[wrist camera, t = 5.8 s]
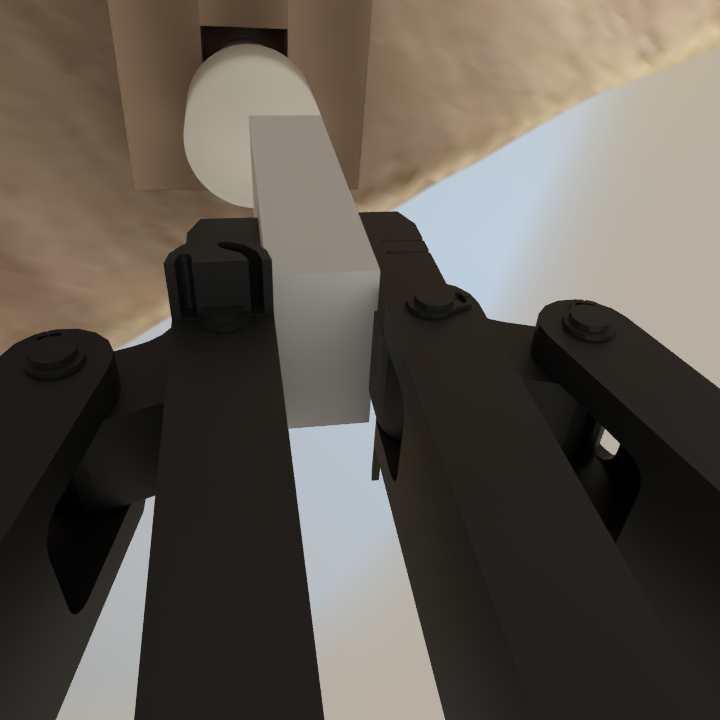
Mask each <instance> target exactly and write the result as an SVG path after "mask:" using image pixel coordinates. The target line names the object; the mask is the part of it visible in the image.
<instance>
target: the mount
mask: <svg viewBox="0 0 720 720" xmlns="http://www.w3.org/2000/svg"><path fill="white" fill-rule="evenodd" d="M107 2H108V9H109V16H110V23H111V30H112V37H113V44H114V51H115V58H116V65H117V72H118V79H119V86H120V93H121V100H122V107H123V114H124V121H125V128H126V135H127V142H128V149H129V156H130V163H131V170H132V177H133V184H134V190H208V189H207V188H206V187H205V186H204V185H203V184H202V183H201V182H200V180H199V179H198V178H197V177H196V175H195V173H194V172H193V170H192V168H191V166H190V164H189V162H188V159H187V156H186V152H185V147H184V134H183V132H184V122H185V112H186V102H187V94H188V90H189V86H190V83H191V81H192V78H193V76H194V75H195V73H196V71H197V70H198V68H199V67H200V66H201V65H202V63H203V62H205V61H206V53H205V38H204V26H224V27H248V28H272V29H277V51H278V52H279V53H281V54H283V55H284V56H286V57H287V58H288V59H290V60H291V61H292V62H293V63H294V64H295V65H296V66H297V67H298V68H299V70H300V71H301V72H302V73H303V75H304V77H305V78H306V80H307V82H308V84H309V87H310V89H311V91H312V94H313V96H314V99H315V102H316V104H317V107H318V109H319V112H320V114H321V117H322V120H323V123H324V125H325V128H326V130H327V133H328V136H329V138H330V141H331V143H332V146H333V149H334V151H335V154H336V156H337V159H338V162H339V164H340V167H341V169H342V172H343V175H344V177H345V180H346V182H347V185H348V188H349V189H358V182H359V169H360V155H361V142H362V128H363V115H364V101H365V88H366V74H367V61H368V47H369V34H370V20H371V7H372V0H107Z"/></svg>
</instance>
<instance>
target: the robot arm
mask: <svg viewBox="0 0 720 720" xmlns="http://www.w3.org/2000/svg"><path fill="white" fill-rule="evenodd" d="M249 130H250V149H251V168H252V187H253V206H254V218H223V219H200V220H199V221H198V222H197V223H196V224H195V225H194V226H193V227H192V229H191V230H190V231H189V232H188V233H187V242H186V244H184V245H181V246H180V247H178V248H177V249H175V250H174V251H172V252H171V253H169V255H168V257H167V258H166V260H165V262H164V269H165V276H166V283H167V289H168V296H169V303H170V310H171V316H172V325H171V328H170V329H169V330H168V331H166V332H165V333H164V334H163V335H161V336H159V337H157V338H155V339H153V340H151V341H149V342H146V343H143V344H140V345H137V346H133V347H130V348H126V349H121V350H118V351H113V349H112V347H111V345H110V343H109V341H108V340H107V339H105V338H104V337H102V336H100V335H99V334H97V333H95V332H90V331H86V330H81V329H58V330H51V331H48V332H42V333H39V334H35V335H33V336H31V337H29V338H26V339H24V340H22V341H20V342H18V343H16V344H14V345H13V346H12V347H10V348H9V349H8V350H7V351H6V352H4V353H3V354H2V355H1V356H0V720H55V719H56V718H57V715H58V713H59V710H60V708H61V706H62V703H63V701H64V699H65V696H66V694H67V691H68V689H69V687H70V684H71V682H72V680H73V677H74V675H75V672H76V670H77V668H78V665H79V663H80V661H81V658H82V656H83V653H84V651H85V648H86V646H87V644H88V642H89V639H90V637H91V635H92V632H93V630H94V627H95V625H96V622H97V620H98V618H99V616H100V613H101V611H102V608H103V606H104V603H105V601H106V599H107V596H108V594H109V592H110V589H111V587H112V585H113V582H114V580H115V578H116V575H117V573H118V570H119V568H120V566H121V563H122V561H123V559H124V556H125V554H126V551H127V549H128V547H129V544H130V542H131V540H132V537H133V535H134V532H135V530H136V528H137V525H138V523H139V520H140V518H141V516H142V514H143V511H144V505H145V499H146V498H149V497H152V496H155V505H154V516H153V526H152V538H151V548H150V559H149V569H148V580H147V591H146V601H145V612H144V622H143V632H142V643H141V654H140V664H139V675H138V685H137V696H136V707H135V717H134V720H324V713H323V706H322V698H321V689H320V681H319V673H318V665H317V657H316V649H315V641H314V633H313V625H312V617H311V609H310V601H309V592H308V584H307V577H306V568H305V561H304V552H303V545H302V536H301V528H300V520H299V512H298V504H297V497H296V488H295V480H294V472H293V464H292V456H291V448H290V440H289V431H288V429H289V428H301V427H314V426H326V425H339V424H351V423H364V422H369V414H370V413H369V412H370V400H372V404H373V407H374V411H375V414H376V429H375V439H374V452H373V463H372V480H379V472H380V468H381V472H382V476H383V480H384V483H385V487H386V491H387V495H388V499H389V503H390V507H391V511H392V514H393V518H394V522H395V526H396V530H397V534H398V538H399V542H400V545H401V549H402V553H403V557H404V561H405V565H406V568H407V573H408V577H409V580H410V584H411V588H412V592H413V596H414V600H415V604H416V608H417V611H418V615H419V619H420V623H421V627H422V631H423V635H424V639H425V643H426V646H427V650H428V654H429V658H430V662H431V666H432V670H433V674H434V677H435V681H436V685H437V689H438V693H439V696H440V701H441V704H442V709H443V712H444V716H445V720H720V388H718V387H717V386H716V385H714V384H713V383H711V382H710V381H709V380H708V379H706V378H705V377H704V376H702V375H701V374H700V373H698V372H697V371H696V370H695V369H693V368H692V367H691V366H689V365H688V364H687V363H686V362H684V361H683V360H682V359H680V358H679V357H678V356H676V355H675V354H674V353H673V352H671V351H670V350H669V349H667V348H666V347H665V346H663V345H662V344H661V343H659V342H658V341H657V340H656V339H654V338H653V337H652V336H650V335H649V334H648V333H646V332H645V331H644V330H643V329H641V328H640V327H639V326H637V325H636V324H634V323H633V322H632V321H631V320H629V319H628V318H627V317H625V316H624V315H622V314H620V313H619V312H617V311H615V310H613V309H612V308H609V307H606V306H603V305H600V304H598V303H596V302H593V301H588V300H586V301H583V300H576V299H575V300H563V301H556V302H554V303H551V304H549V305H546V306H545V307H544V308H543V309H542V311H541V312H540V313H539V316H538V319H537V323H536V327H535V326H527V325H520V324H513V323H506V322H500V321H496V320H491V319H488V318H487V317H486V315H485V314H484V312H483V310H482V308H481V307H480V305H479V303H478V302H477V301H476V300H475V299H474V298H473V297H472V296H471V295H470V294H469V293H467V292H465V291H464V290H462V289H460V288H458V287H456V286H452V285H448V284H446V282H445V280H444V278H443V276H442V274H441V273H440V271H439V269H438V267H437V265H436V263H435V261H434V259H433V258H432V255H431V254H430V253H428V248H427V246H426V244H425V242H424V241H422V236H421V234H420V233H419V231H418V229H417V227H416V225H415V223H413V222H411V221H410V220H408V219H407V218H406V217H404V216H403V215H402V214H400V213H399V212H361V213H358V211H357V208H356V206H355V203H354V201H353V198H352V195H351V193H350V190H349V188H348V185H347V182H346V180H345V177H344V175H343V172H342V169H341V167H340V164H339V162H338V159H337V156H336V154H335V151H334V149H333V146H332V143H331V141H330V138H329V136H328V133H327V130H326V128H325V125H324V123H323V120H322V117H321V115H269V116H249ZM605 429H606V430H607V431H608V432H609V433H610V434H611V435H612V436H613V437H614V438H615V439H616V440H617V441H618V442H619V443H620V446H619V449H618V451H617V453H616V455H612V454H610V453H609V452H608V451H607V450H606V449H604V448H603V447H602V446H601V444H600V441H601V438H602V435H603V432H604V430H605Z"/></svg>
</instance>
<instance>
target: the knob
mask: <svg viewBox="0 0 720 720" xmlns="http://www.w3.org/2000/svg"><path fill="white" fill-rule="evenodd" d="M269 115H321V114H320V112H319V109H318V107H317V104H316V102H315V99H314V96H313V94H312V91H311V89H310V87H309V84H308V82H307V80H306V78H305V77H304V75H303V73H302V72H301V71H300V70H299V68H298V67H297V66H296V65H295V64H294V63H293V62H292V61H291V60H290V59H288V58H287V57H286V56H284V55H283V54H281V53H279V52H278V51H276V50H274V49H271V48H269V47H265V46H263V45H262V44H261V43H259V42H258V41H256V40H253V39H250V38H237V39H234V40H231V41H229V42H228V43H227V44H225V45H224V46H223V47H222V49H221V50H220V51H218V52H216V53H214V54H213V55H212V56H210V57H209V58H208V59H207V60H206V61H205V62H203V63H202V65H201V66H200V67H199V68H198V70H197V71H196V73H195V75H194V76H193V78H192V81H191V83H190V86H189V90H188V94H187V102H186V112H185V122H184V132H183V134H184V147H185V152H186V156H187V159H188V162H189V164H190V166H191V168H192V170H193V172H194V173H195V175H196V177H197V178H198V179H199V180H200V182H201V183H202V184H203V185H204V186H205V187H206V188H207V189H208V190H209V191H211V192H212V193H213V194H215V195H216V196H218V197H219V198H221V199H223V200H225V201H227V202H229V203H231V204H235V205H238V206H242V207H248V208H254V206H253V187H252V168H251V149H250V130H249V116H269Z"/></svg>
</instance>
